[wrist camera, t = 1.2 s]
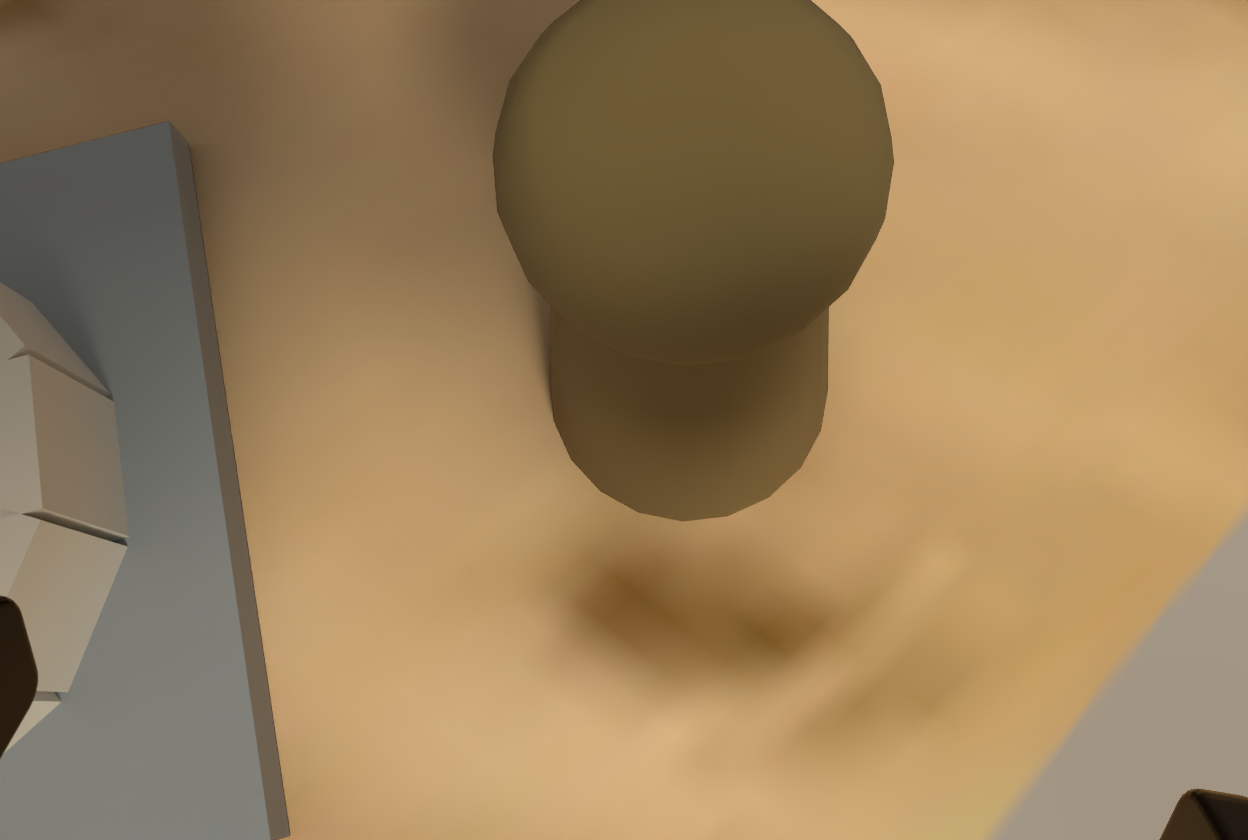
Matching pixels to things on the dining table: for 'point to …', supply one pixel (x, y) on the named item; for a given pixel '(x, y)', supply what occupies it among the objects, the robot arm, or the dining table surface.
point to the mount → (124, 511)
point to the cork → (691, 234)
